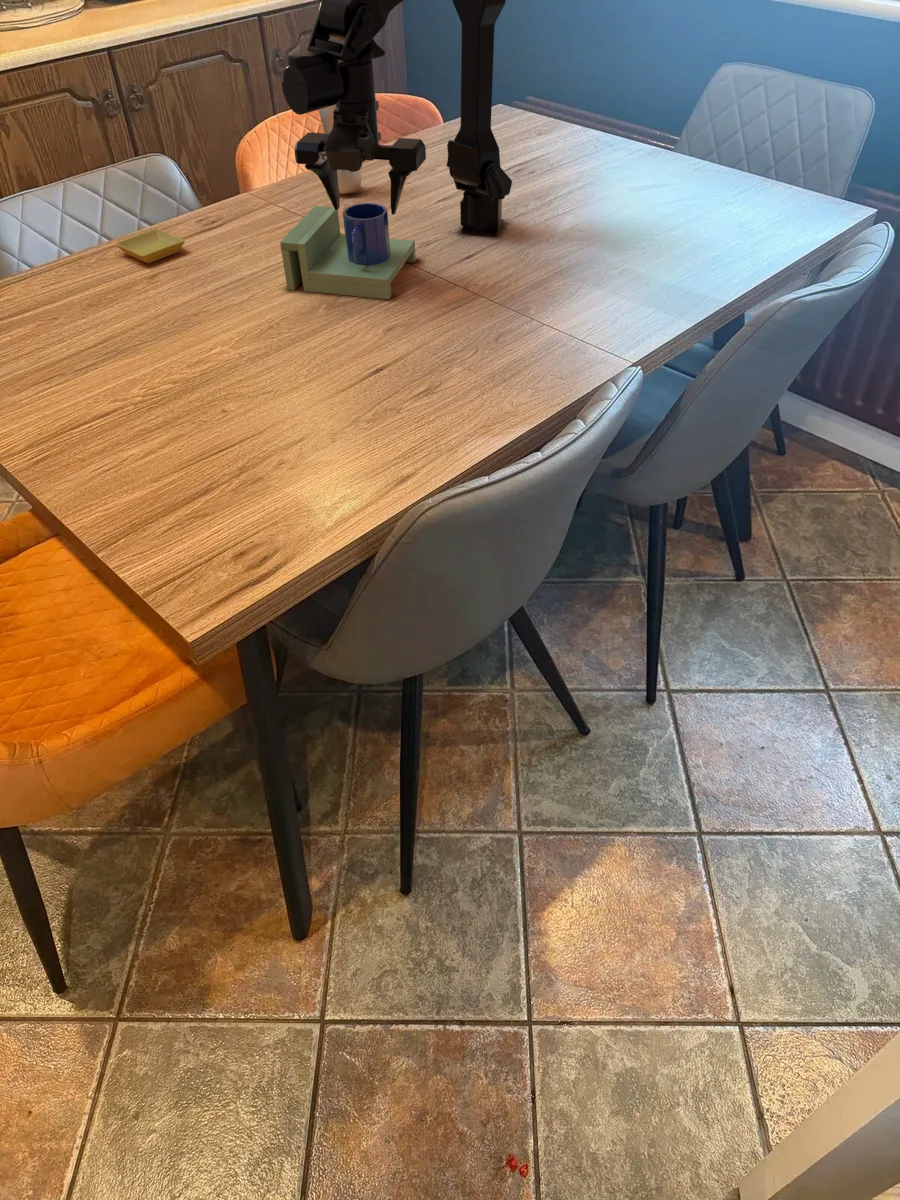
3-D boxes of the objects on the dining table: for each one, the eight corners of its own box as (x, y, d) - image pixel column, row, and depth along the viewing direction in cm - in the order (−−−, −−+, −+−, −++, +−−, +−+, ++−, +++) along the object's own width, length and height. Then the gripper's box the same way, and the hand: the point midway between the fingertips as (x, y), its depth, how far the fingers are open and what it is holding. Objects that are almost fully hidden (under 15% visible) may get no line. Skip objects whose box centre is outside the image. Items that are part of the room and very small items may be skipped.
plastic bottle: (357, 198, 163) (346, 79, 149) (323, 197, 164) (309, 78, 150) (366, 186, 168) (356, 69, 154) (333, 184, 169) (320, 68, 155)
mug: (395, 249, 139) (392, 204, 134) (377, 273, 133) (374, 227, 128) (355, 246, 140) (351, 201, 135) (336, 269, 134) (331, 224, 129)
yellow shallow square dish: (117, 254, 147) (113, 242, 146) (160, 239, 152) (157, 227, 150) (145, 268, 143) (142, 256, 142) (188, 252, 147) (185, 240, 146)
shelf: (415, 259, 144) (413, 213, 138) (389, 299, 133) (385, 251, 128) (320, 250, 147) (314, 205, 141) (287, 289, 137) (279, 242, 131)
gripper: (271, 111, 118) (289, 227, 129) (401, 119, 114) (408, 237, 125) (301, 88, 125) (315, 199, 136) (424, 95, 122) (429, 208, 133)
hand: (365, 211), depth 132 cm, fingers open, 9 cm apart
